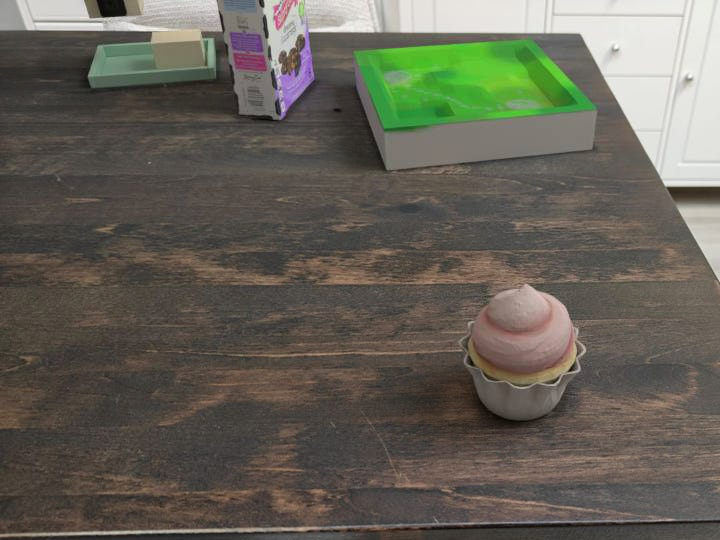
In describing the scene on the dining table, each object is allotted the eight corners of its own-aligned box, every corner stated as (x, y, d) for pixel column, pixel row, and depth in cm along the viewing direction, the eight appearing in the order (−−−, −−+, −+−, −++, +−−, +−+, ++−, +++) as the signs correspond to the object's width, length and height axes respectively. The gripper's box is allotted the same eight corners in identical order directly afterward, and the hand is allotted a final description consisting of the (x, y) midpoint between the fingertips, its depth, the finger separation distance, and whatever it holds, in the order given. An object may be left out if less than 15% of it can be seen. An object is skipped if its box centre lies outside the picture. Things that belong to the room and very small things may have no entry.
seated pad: (157, 72, 104) (150, 43, 101) (159, 60, 107) (152, 31, 105) (206, 69, 105) (200, 40, 103) (206, 57, 109) (200, 28, 106)
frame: (92, 92, 100) (87, 76, 98) (102, 59, 109) (97, 45, 107) (217, 82, 103) (213, 67, 102) (216, 52, 112) (213, 37, 111)
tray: (528, 74, 108) (531, 39, 104) (592, 149, 90) (597, 108, 86) (356, 88, 102) (353, 51, 99) (386, 170, 84) (384, 128, 81)
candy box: (281, 122, 94) (258, -20, 83) (237, 118, 94) (208, -24, 84) (317, 82, 104) (300, -50, 93) (276, 78, 105) (255, -52, 94)
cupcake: (577, 356, 61) (591, 252, 54) (581, 440, 54) (598, 332, 47) (463, 350, 61) (463, 245, 54) (452, 433, 54) (451, 324, 47)
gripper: (46, -163, 93) (94, -7, 105) (21, -143, 81) (78, 32, 93) (110, -164, 95) (149, -10, 107) (95, -144, 82) (142, 27, 94)
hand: (116, 8), depth 100 cm, fingers closed on loose pad, 5 cm apart
